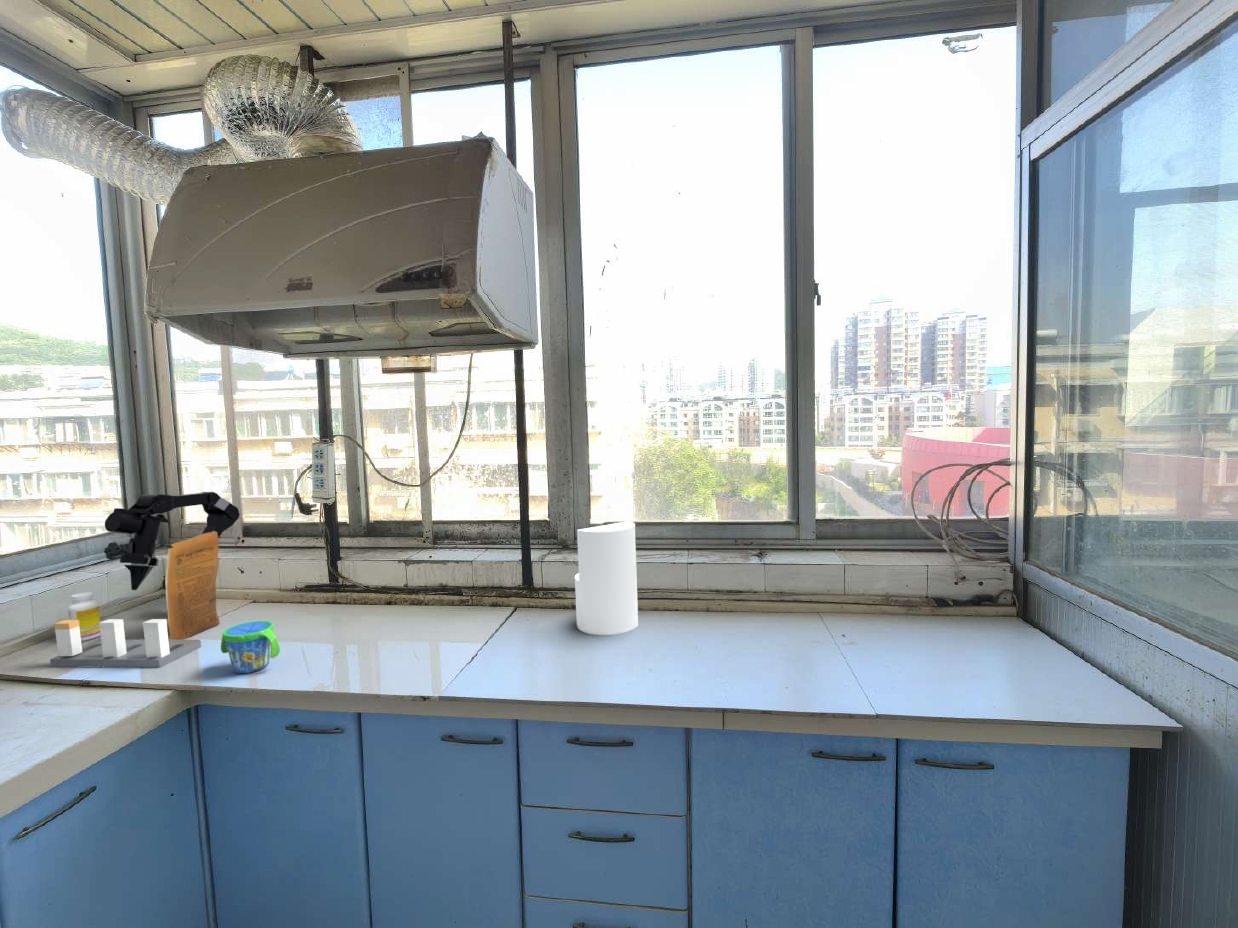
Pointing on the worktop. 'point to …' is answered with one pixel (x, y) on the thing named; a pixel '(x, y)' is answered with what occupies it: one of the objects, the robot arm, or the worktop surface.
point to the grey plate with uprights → (130, 647)
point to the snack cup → (250, 645)
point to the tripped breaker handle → (68, 637)
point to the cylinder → (607, 579)
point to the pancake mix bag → (192, 585)
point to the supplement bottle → (85, 615)
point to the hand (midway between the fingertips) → (134, 589)
